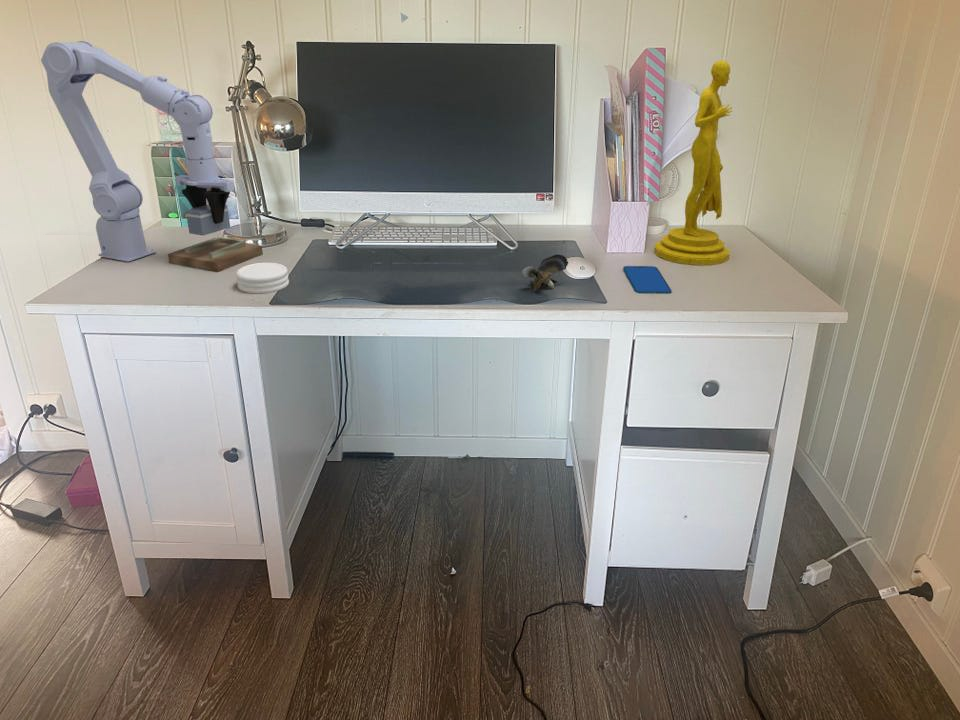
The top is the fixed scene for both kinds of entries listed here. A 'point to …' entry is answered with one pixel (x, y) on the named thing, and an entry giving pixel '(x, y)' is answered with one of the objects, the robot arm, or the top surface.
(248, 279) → the white short ridged cylinder
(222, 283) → the top surface
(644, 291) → the smartphone
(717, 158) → the statue
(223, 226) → the blue-grey lidded box
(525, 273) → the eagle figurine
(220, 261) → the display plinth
